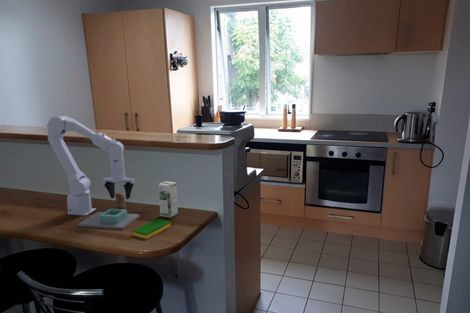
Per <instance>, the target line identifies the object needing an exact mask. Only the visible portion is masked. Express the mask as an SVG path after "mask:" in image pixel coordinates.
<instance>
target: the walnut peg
mask: <svg viewBox="0 0 470 313" xmlns="http://www.w3.org/2000/svg"><path fill="white" fill-rule="evenodd" d="M115 204H116V206H115V207H116V209H123V210H127V206H126V205H127V204H126V192H123V191H122V192H121V191H119V192H116V193H115Z"/></svg>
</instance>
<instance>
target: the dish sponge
mask: <svg viewBox="0 0 470 313" xmlns="http://www.w3.org/2000/svg"><path fill="white" fill-rule="evenodd" d="M171 225H172V224H171V221H170V220H165V219H162V218H161V219H160V218H157V219H154V220H151V221H150V222H148V223H145V224H143V225H142V226H139V227H137V228H135V229H132V235H133V236H134V237H138V238H142V239H145V240H148V239H149V238H151V237H153V236H155V235H156V234H159V233H161V232H163V231H165V230H167V229H168V228H170V227H172V226H171Z"/></svg>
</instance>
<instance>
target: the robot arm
mask: <svg viewBox="0 0 470 313" xmlns="http://www.w3.org/2000/svg"><path fill="white" fill-rule="evenodd" d="M46 127H47V141H48V143H49V145H50V146H51V148H52V149H53V152H54V154H56V157H57V159H58V161H59V162H60V164H61V166H62V168H63V169H64V171H65V173H66V175H67V183H68V185H69V191H70V192H71V193H69V194H68V195H67V198H66V204H67V215H70V216H71V215H72V216H73V215H74V216H88V215H90V214H91V213H93V212H94V211H96V210H97V208H92V197H91V190H90V187H91V185H92V182H91V179H89V177H87V175H85V173H84V172H83V171H81V170H80V168H79V167H78V164H77V163H76V161H75V159H74V157H73V154H72V153H71V151H70V150H69V148H68V145H67V144H66V143H65V141H64V137H65V134H66V132H76V133H78V134H80V135H82V136H84V137H86V138H88V139H89V140H91V141H92V144H93V145H95V146H97V147H99V148H100V149H102V150H103V151H106V152H107V153H108V155H109V158H110V159H109V162H110V171H111V177H110V176H109V177H104V178H102V181H103V184H104V187H105V188H106V190H107V192H108V194H109V196H110V199H114V198H116V196H115V194H116V193H115V185H116V184H123V188H124V191H125V192H124V193H125V200H129V199H130V198H131V194H132V191H133V190H132V189H133V187H134V184H135V183H136V179H135V178H133V177H126V169H125V161H124V160H125V159H124V158H125V157H124V150H125V146H124V144H123V143H122V142H121V141H119V140H116V139H114V138H113V139H112V138H111V137H109V136H107V135H106V132H97V133H96V132H94V131H93V130H92V129H90V128H88V127H86V125H83V124H82V123H81V122H78V121H77V120H76V119H75V118H72V117H69V116H68V115H67V114H65V115H64V114H62V115H59V116H53V117H51V118H50V119H49V120H48V122H47V124H46Z"/></svg>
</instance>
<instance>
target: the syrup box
mask: <svg viewBox="0 0 470 313" xmlns="http://www.w3.org/2000/svg"><path fill="white" fill-rule="evenodd" d="M177 185H178V184H177V182H173V181H167V180H166V181H162V182H160V183H158V200H159V216H160V217H165V218H170V219H171V218H172V217H174V216H176V215H177V214H178V212H179V209H178V191H177V190H178V188H177Z"/></svg>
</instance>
